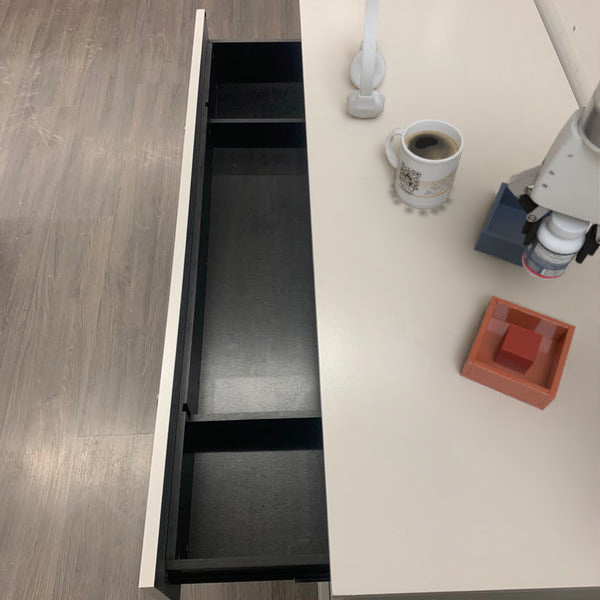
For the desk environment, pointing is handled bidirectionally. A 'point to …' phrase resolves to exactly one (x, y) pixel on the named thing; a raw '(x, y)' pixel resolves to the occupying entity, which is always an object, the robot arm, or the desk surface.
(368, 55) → the headphones
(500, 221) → the slate bin
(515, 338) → the red block
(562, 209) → the robot arm
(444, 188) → the mug
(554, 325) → the terracotta bin
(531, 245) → the pill bottle
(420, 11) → the desk surface
